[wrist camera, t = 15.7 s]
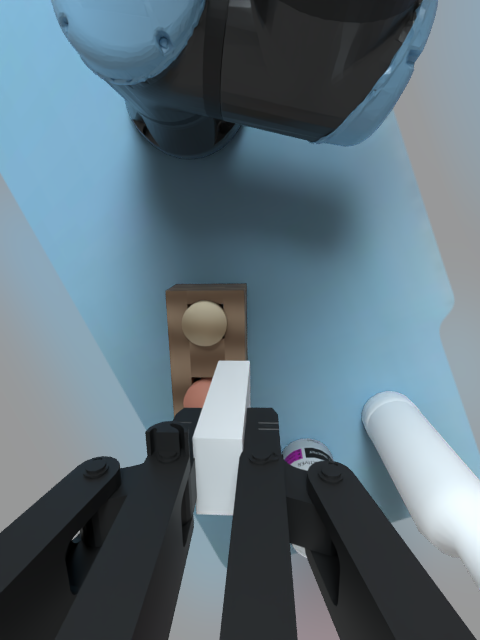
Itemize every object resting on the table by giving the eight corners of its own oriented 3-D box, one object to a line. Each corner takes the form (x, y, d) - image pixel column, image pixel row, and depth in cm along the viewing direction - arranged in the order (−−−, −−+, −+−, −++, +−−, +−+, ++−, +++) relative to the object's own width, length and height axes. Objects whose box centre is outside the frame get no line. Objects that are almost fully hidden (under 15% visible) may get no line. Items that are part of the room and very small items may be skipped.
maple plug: (191, 293, 51) (180, 302, 44) (230, 292, 50) (225, 302, 44) (193, 331, 52) (182, 346, 45) (231, 331, 52) (227, 346, 45)
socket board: (176, 284, 51) (165, 290, 45) (246, 283, 50) (244, 290, 45) (187, 456, 58) (178, 481, 52) (248, 457, 57) (247, 483, 51)
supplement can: (285, 485, 58) (293, 570, 44) (274, 440, 56) (279, 514, 42) (336, 476, 57) (361, 560, 43) (326, 431, 55) (349, 502, 41)
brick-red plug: (192, 363, 52) (182, 383, 45) (231, 363, 51) (226, 384, 44) (194, 399, 53) (184, 424, 46) (232, 399, 53) (227, 424, 46)
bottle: (414, 436, 55) (586, 670, 26) (361, 439, 55) (471, 670, 26) (414, 387, 53) (600, 580, 24) (359, 391, 53) (475, 584, 24)
